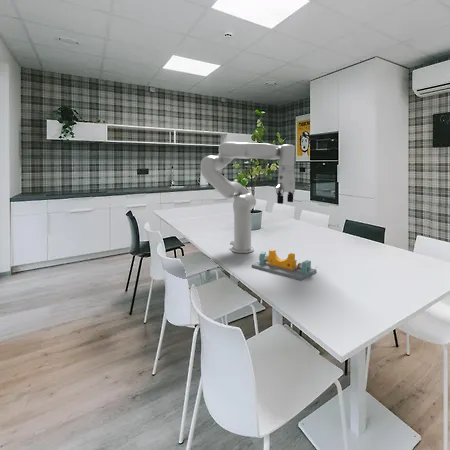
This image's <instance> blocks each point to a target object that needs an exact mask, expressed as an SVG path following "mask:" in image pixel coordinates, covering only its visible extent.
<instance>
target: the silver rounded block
mask: <svg viewBox="0 0 450 450" xmlns="http://www.w3.org/2000/svg"><path fill="white" fill-rule="evenodd" d="M296 265H297V268H298V269H299V270H302V262H297V264H296ZM308 268H310V266H309V265H308ZM307 271H309V269H307Z"/></svg>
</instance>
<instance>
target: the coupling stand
mask: <svg viewBox="0 0 450 450" xmlns="http://www.w3.org/2000/svg"><path fill="white" fill-rule="evenodd" d="M265 255H267V252H266V251H261V252H260V253H259V256H260V261H258V262H255V263H252V264H251V268H253V269H257V270H262V271H263V272H265V271H266V272H268V273H273V274H276V275H278V276H283V277H287V278H290V279H294V280H298V281H303V280H304V279H306V278H308V277H310V276H312V275H314V274H316V273H317V269H315V268H311V267H312V261H311V260H307V259H306V260H304V261H302V262H301V263H302V270H299V269H298V268H297V265H298V264H296V267H295V268H293V269H289V268H284V267H280V266H276V265H272V264H269V262H264V257H265ZM308 265H309V266H310V268H308ZM307 269H309V271H307Z"/></svg>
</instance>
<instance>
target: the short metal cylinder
mask: <svg viewBox="0 0 450 450" xmlns="http://www.w3.org/2000/svg"><path fill="white" fill-rule="evenodd" d="M258 262H260V255H259V256H258ZM264 262H269V255H267V254H266V255H265V257H264Z"/></svg>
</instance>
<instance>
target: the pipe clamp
mask: <svg viewBox="0 0 450 450" xmlns="http://www.w3.org/2000/svg"><path fill="white" fill-rule="evenodd" d="M287 255H288V256H287V258H286V259H285V258H283V259H281V258H279V257H278V255H277V252H276V250H275V249H270V250H268V256H269V264H272V265H276V266H280V267H284V268H289V269H293V268H295V267H296V265H297V259H296V253H292V252H291V253H288V254H287Z"/></svg>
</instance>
